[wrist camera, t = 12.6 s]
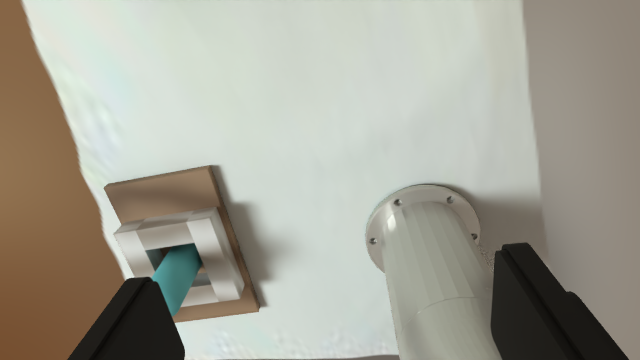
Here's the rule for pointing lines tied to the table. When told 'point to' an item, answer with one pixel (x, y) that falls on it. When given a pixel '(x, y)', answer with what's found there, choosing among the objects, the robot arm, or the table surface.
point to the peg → (177, 274)
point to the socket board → (178, 201)
